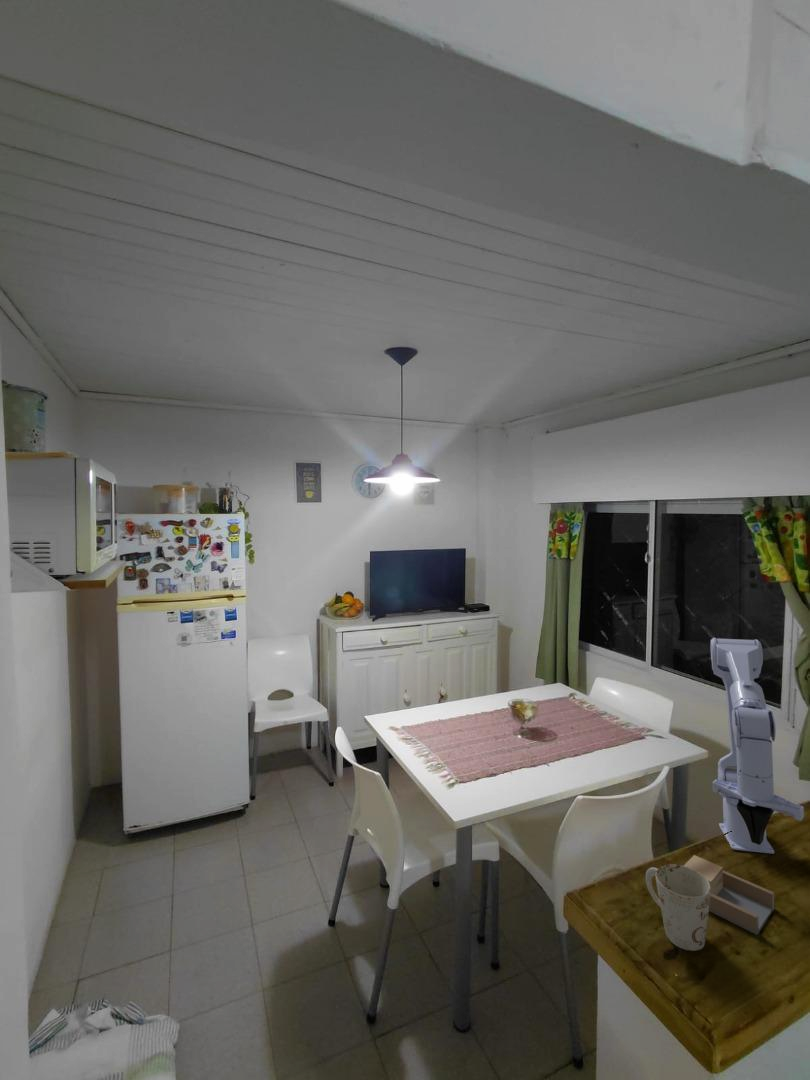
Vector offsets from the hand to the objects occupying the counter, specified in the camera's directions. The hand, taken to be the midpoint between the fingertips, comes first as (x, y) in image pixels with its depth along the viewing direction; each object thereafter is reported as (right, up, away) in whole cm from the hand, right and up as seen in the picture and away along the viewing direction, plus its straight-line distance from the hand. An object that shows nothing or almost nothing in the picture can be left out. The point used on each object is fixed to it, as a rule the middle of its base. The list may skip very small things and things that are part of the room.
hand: (757, 841), depth 99 cm
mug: (-20, -11, -8) cm, 24 cm away
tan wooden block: (-10, -9, +1) cm, 14 cm away
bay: (-8, -10, -2) cm, 13 cm away
